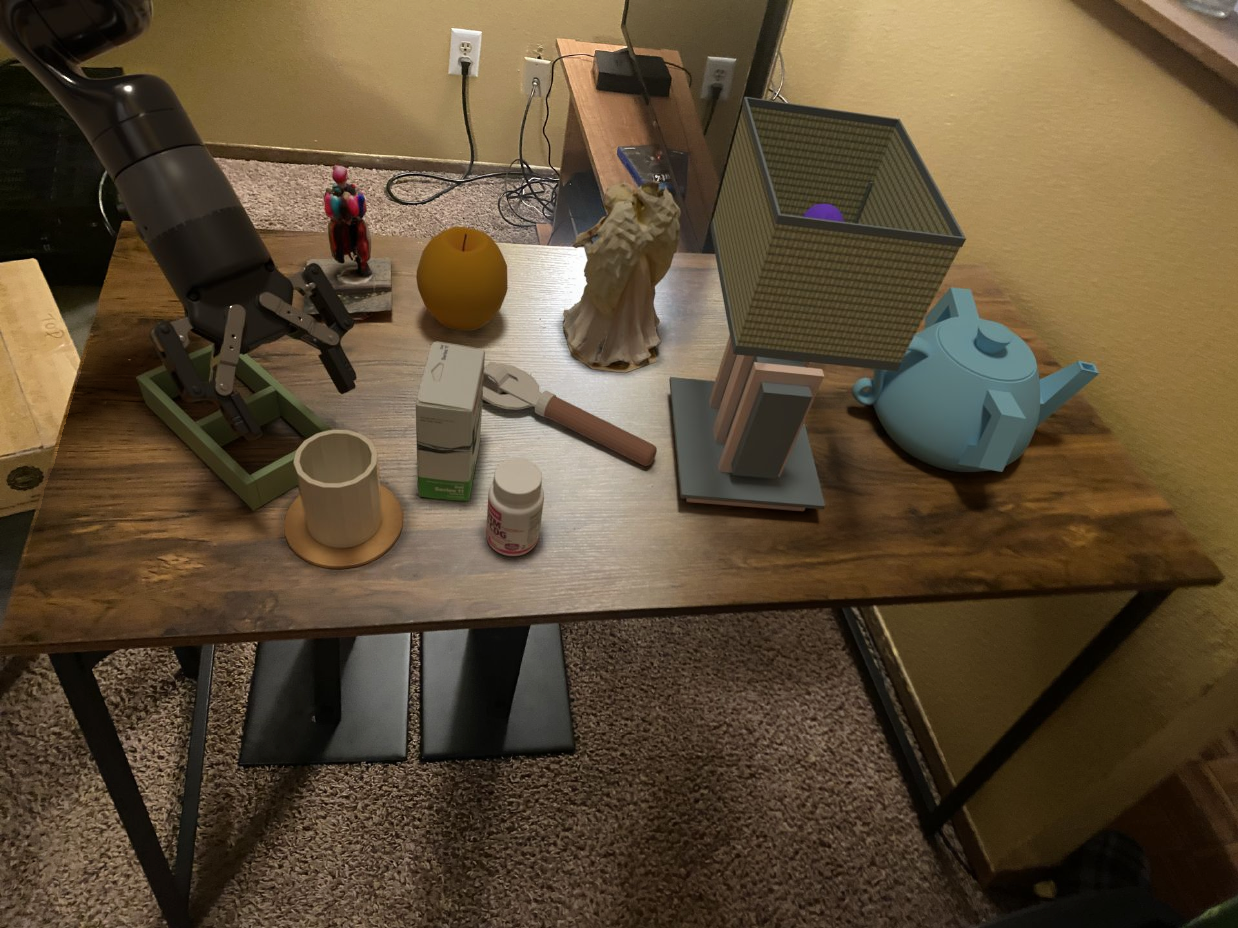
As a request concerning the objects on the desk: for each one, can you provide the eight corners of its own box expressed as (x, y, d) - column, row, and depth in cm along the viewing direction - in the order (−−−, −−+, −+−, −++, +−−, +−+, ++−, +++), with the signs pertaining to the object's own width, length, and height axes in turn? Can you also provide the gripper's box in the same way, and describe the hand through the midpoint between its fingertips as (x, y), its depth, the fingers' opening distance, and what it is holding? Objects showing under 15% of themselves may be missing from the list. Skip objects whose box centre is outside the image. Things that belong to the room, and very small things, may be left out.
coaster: (302, 584, 69) (301, 581, 69) (271, 498, 74) (271, 495, 74) (419, 547, 73) (419, 544, 73) (382, 468, 79) (382, 465, 78)
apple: (431, 357, 90) (429, 265, 82) (407, 303, 96) (403, 212, 87) (516, 343, 94) (523, 254, 85) (488, 292, 99) (492, 204, 91)
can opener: (666, 438, 87) (672, 418, 85) (646, 475, 83) (651, 455, 81) (490, 369, 90) (491, 347, 88) (463, 402, 86) (463, 380, 84)
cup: (317, 557, 70) (306, 496, 65) (297, 503, 74) (285, 440, 68) (392, 534, 73) (387, 474, 67) (369, 483, 77) (363, 421, 71)
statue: (309, 274, 99) (290, 146, 89) (391, 273, 101) (382, 149, 91) (303, 322, 91) (281, 189, 81) (392, 321, 93) (381, 190, 83)
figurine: (567, 300, 101) (588, 142, 86) (662, 318, 101) (698, 164, 87) (551, 363, 92) (571, 200, 78) (655, 382, 93) (693, 224, 78)
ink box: (470, 503, 77) (473, 411, 69) (416, 497, 77) (412, 404, 68) (482, 437, 83) (486, 344, 75) (432, 430, 83) (431, 337, 74)
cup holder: (342, 460, 78) (338, 434, 76) (253, 510, 73) (246, 484, 71) (234, 364, 85) (228, 337, 82) (145, 404, 80) (135, 376, 77)
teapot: (960, 511, 86) (1028, 415, 76) (822, 402, 95) (866, 303, 85) (1049, 441, 96) (1119, 348, 86) (916, 348, 105) (966, 254, 95)
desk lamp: (818, 528, 82) (970, 239, 58) (677, 517, 80) (774, 214, 56) (788, 400, 94) (903, 119, 70) (665, 388, 92) (740, 96, 69)
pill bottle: (475, 544, 74) (478, 482, 68) (501, 508, 77) (505, 446, 71) (523, 565, 73) (530, 505, 67) (547, 528, 77) (556, 467, 71)
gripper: (107, 239, 56) (235, 451, 60) (293, 180, 64) (395, 369, 69) (91, 269, 62) (209, 460, 66) (264, 211, 70) (359, 383, 74)
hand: (304, 413), depth 67 cm, fingers open, 8 cm apart
